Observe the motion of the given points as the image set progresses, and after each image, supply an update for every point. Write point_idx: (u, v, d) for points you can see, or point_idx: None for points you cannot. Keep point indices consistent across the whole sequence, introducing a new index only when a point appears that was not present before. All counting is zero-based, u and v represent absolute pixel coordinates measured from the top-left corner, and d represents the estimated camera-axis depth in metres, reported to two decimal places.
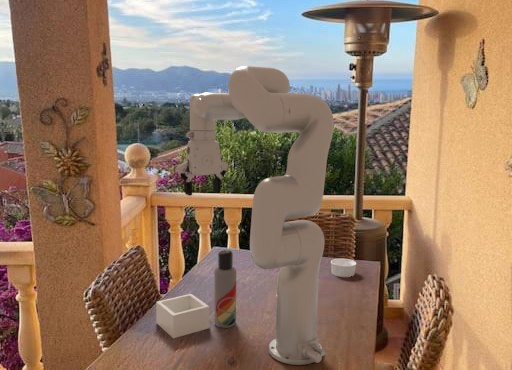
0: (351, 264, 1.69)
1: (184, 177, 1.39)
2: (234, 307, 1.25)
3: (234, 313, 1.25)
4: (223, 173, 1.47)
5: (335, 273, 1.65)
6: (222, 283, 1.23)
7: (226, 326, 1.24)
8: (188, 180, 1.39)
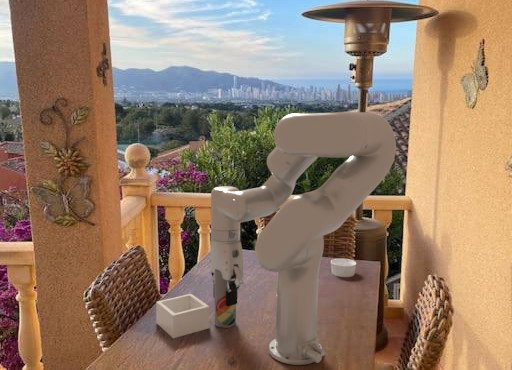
0: (351, 264, 1.69)
1: None
2: (234, 307, 1.25)
3: (234, 313, 1.25)
4: None
5: (335, 273, 1.65)
6: (222, 283, 1.23)
7: (226, 326, 1.24)
8: None
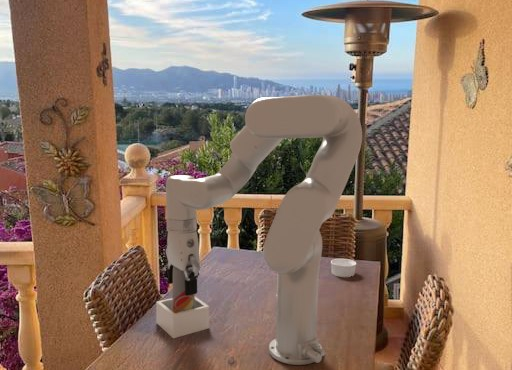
0: (351, 264, 1.69)
1: None
2: (192, 306, 1.23)
3: None
4: None
5: (335, 273, 1.65)
6: (179, 281, 1.21)
7: None
8: None
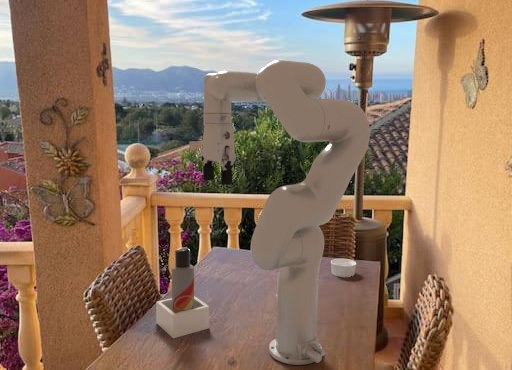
0: (351, 264, 1.69)
1: None
2: (191, 306, 1.23)
3: None
4: None
5: (335, 273, 1.65)
6: (178, 281, 1.21)
7: None
8: None
